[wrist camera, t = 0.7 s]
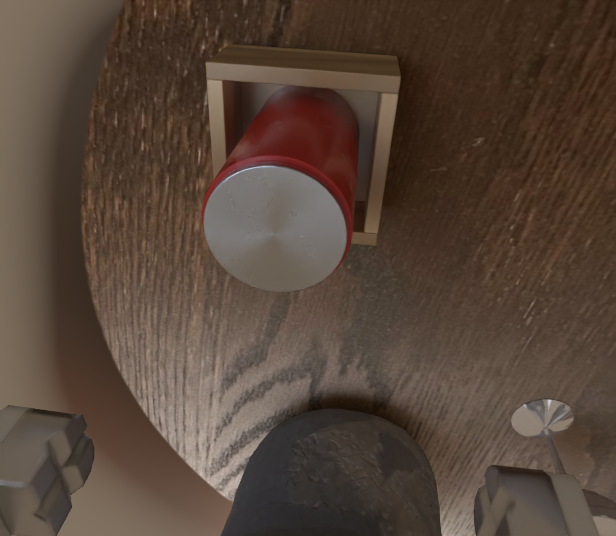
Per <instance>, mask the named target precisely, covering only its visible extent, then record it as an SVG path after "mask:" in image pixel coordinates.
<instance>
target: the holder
mask: <svg viewBox="0 0 616 536" xmlns="http://www.w3.org/2000/svg"><path fill="white" fill-rule="evenodd" d="M206 77H207V90H208V105H209V119H210V133H211V148H212V162H213V177H214V179H215V177H216V176H217V174H218V173H219V171H220V170H221V168H222V167H223V165H224V164H225V162H226V161H227V159H228V158H229V156H230V155H231V153H232V152H233V150H234V149H235V147H236V146H237V144H238V143H239V141H240V140H241V138H242V136H243V135H244V133H245V132H246V130H247V129H248V127H249V126H250V124H251V123H252V121H253V120H254V118H255V117H256V115H257V114H258V112H259V111H260V109H261V108H262V106H263V105H264V103H265V102H266V101H267V99H268V98H269V97H270V96H271V95H272V94H274V93H275V92H276V91H278V90H279V89H281V88H283V87H285V86H288V85H292V86H305V87H318V88H330V89H332V90H334V91H335V92H337V93H338V94H339V95H341V96H342V97H343V98H344V99H345V100H346V101H347V102H348V104H349V105H350V107H351V108H352V110H353V112H354V114H355V116H356V118H357V121H358V126H359V133H360V138H359V153H358V167H357V182H356V196H355V210H354V224H353V236H352V241H351V244H362V245H372V246H376V243H377V236H378V229H379V222H380V216H381V209H382V202H383V195H384V189H385V182H386V175H387V168H388V162H389V155H390V148H391V142H392V135H393V128H394V121H395V115H396V108H397V101H398V93H399V88H400V81H401V74H400V69H399V64H398V59H397V56H391V55H377V54H364V53H350V52H336V51H322V50H308V49H294V48H280V47H266V46H253V45H239V44H230V45H228V46H227V47H225V48H224V49H222V50H221V51H220V52H218V53H217V54H216V55H214V56H213V57H212V58H210V59H209V60H208V61H206Z"/></svg>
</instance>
